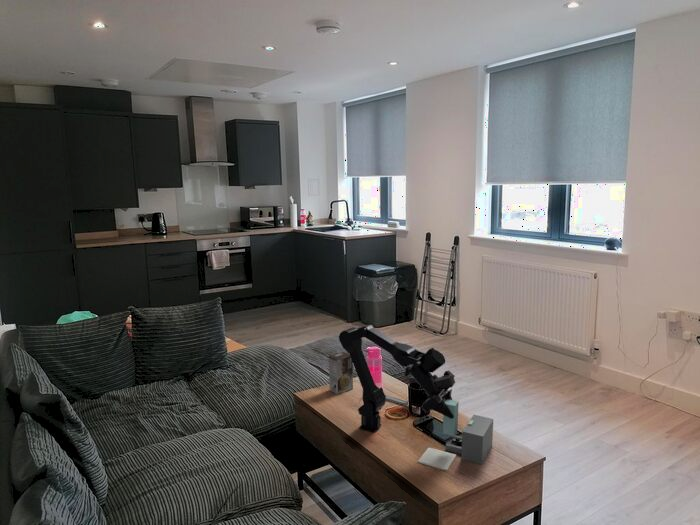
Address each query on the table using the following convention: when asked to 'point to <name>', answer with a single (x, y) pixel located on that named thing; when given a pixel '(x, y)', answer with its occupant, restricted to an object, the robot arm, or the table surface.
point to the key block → (450, 424)
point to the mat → (437, 458)
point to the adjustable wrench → (396, 400)
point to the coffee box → (340, 373)
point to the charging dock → (475, 440)
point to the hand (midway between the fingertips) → (454, 415)
